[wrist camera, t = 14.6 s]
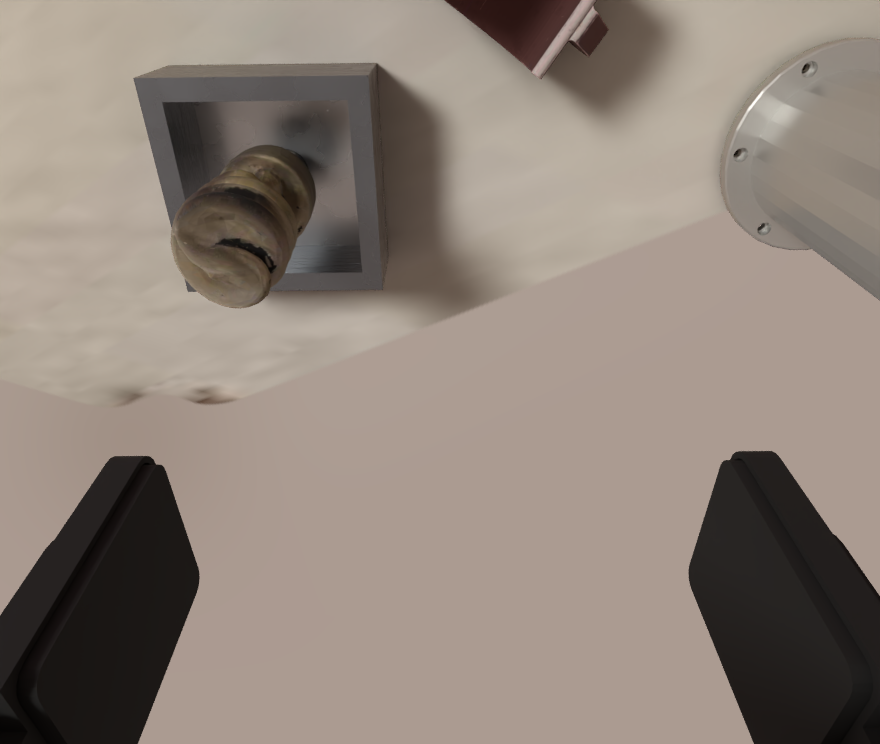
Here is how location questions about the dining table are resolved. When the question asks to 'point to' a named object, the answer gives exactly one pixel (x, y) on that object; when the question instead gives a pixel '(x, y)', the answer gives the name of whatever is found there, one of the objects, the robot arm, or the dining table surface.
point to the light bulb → (244, 225)
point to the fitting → (291, 127)
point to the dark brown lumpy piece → (536, 27)
